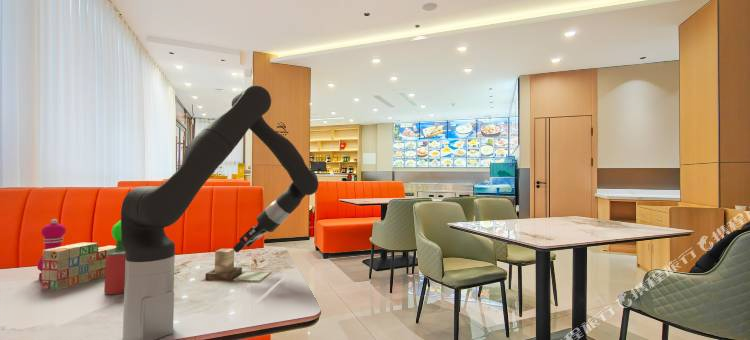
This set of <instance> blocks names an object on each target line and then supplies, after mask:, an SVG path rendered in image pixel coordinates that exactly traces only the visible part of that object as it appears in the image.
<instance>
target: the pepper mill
mask: <svg viewBox="0 0 750 340" xmlns="http://www.w3.org/2000/svg"><path fill="white" fill-rule="evenodd" d="M66 230H67V229H66V227H65V225H63V224H62V223H59V222H58V219H57V218H53V219H51V220H50V223H49V224H46V225H44V226H43V228H42V229H41V235H42V237H44V238H43V242H42V243H43V244H44V250H46V249H51V248H57V247H62V243H63V241H64V235H65V234H66V232H67V231H66ZM37 270H39V271H40V272H39V275H38V279H39V280H40V281H41V280H42V256H41V257H40V258H39V260H38V263H37Z"/></svg>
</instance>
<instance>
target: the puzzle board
mask: <svg viewBox="0 0 750 340" xmlns="http://www.w3.org/2000/svg"><path fill="white" fill-rule="evenodd" d="M272 274H273V271H247V270H245V271H243V267H242V266H234V270H233V271H232V272H230V273H215V268H213V269H212V270H209V271H208V272H207V271H206V273H205V277H204V278H203V279H201V280H200V282H211V283H213V282H215V283H217V282H218V283H219V282H220V283H246V284H247V283H251V284H261V283H262V281H264V280H265V279H267V278H268V277H269V276H271V275H272Z"/></svg>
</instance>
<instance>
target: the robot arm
mask: <svg viewBox="0 0 750 340" xmlns="http://www.w3.org/2000/svg"><path fill="white" fill-rule="evenodd" d="M271 105H272V97H271V95H270V93H269V91H268V90H267V89H266V88H265V87H263V86H261V85H250V86H247V87H246V88H244V89H243V90H241V91H240V92H239V93H238V94H236V95H235V96H234V97H233V98H232V99H231V107H230V108H229V109H228V110H227V111H225V112H224V113H223V114H221V115H220V116H218V117H217V118H215V119H214V120H212V121H211V122H210V123H208V125H206V126H205V127H204V128H203V129H201V130H200V131H199V133H197V135H195V137H193V139H192V140H191V141H190V142H189V143H188V145H187V146H186V149H185V151H184V156H183V160H182V163H181V165H180V167H179V168H178V169H177V170H176V171H175V172H174V173H173V174H172V175H171V176H170V177H169V178H168V179H167V180H166V181H164V182H163V183H162V184H160V185H158V186H155V185H154V186H153V185H148V186H147V185H146V186H143V185H142V186H138V187H136V188H135V187H134V188H133V189H131V190H130V191H128V193H127V194H126V195H125V197H124V199H123V200H122V204H121V208H120V210H121V211H120V220H121V241H122V246H123V248H124V250H125V254H126V258H125V259H126V260H125V285H124V293H123V319H122V320H123V321H122V322H123V323H122V340H158V339H161V338H164V337H166V336H168V335H171V334H174V312H175V311H174V306H175V292H174V290H175V288H174V287H175V286H174V285H175V262H176V261H175V260H176V257H175V256H176V246H175V245H176V244H175V242H174V241H173V240H172V239H171V238H169V237H168V235H167V233H166V232H165V228H167V227H170V226H172V225H174V224H175V223H176V222H178V220H179V219H180V218H181V217H182V216H183V215H184V213H185V212H186V210H187V209H188V208H189V206H190V205H191V204H192V201H194V198H196V195H197V194H198V193H199V191H200V190H201V188H202V187H203V186H204V184H205V183H206V182H207V181H208V180H209V178H210V177H211V176H212V175H213V174H214V172H216V170H217V169H218V168H219V167H220V166H221V165H222V164H223V163H224V161H225V160H226V159H227V158H228V157H229V155H231V153H232V152H233V151H234V149H235V148H236V146H238V144H239V143H240V142H241V140H242V139H243V138H244V137H245V135H246V134H247V132H248V131H249V129H250V130H251V132H252V133H253V134H254V135H255V136H257V138H258V139H259V140H261V141H262V143H263V144H264V145H265V146H266V147H267V148H268V149H269V150H270V152H271V153H272V154H273V156H275V158H276V159H277V161H278V162H279V164H281V166H282V168H284V170H286V172H287V173H288V175H289V178H290V179H291V180H292V183H290V185H289V186H288V187H287V188H286V189H285V190H284V191H283V192H282V193H281V194H280V195H279V196H278V197H277V198H276V199H275V200H273V201H272V202H270V204H269V205H267V206H266V208H265V209H263V210H262V211H261V213H259V214H258V215H257V217H256V221H257V224H255V225H253V226H252V227H250V229H248V230H247V231H246V232H245V233H244V234H243V235H242V236H241V237H239V239H238V242H237V243H236V244H235V245H234V246H233V248H232V249H234V253H240V251H242V250H243V248H244V247H245V246H247V247H248V248H249V247H250V246H253V244H254V243H255V242H256V241H257V240H260V239H261V238H262V237H263V236H265V234H266V233H267V232H268V233H273V232H275V230H276V229H277V228H279V226H281V224H283V223H284V222H285V221H286V220H287V219H288V217H289V216H290V215H291V214H292V213H293V212H294V211H295V210H296V209H297V208H298V207H299V206H300V204H301V203H302V200H303V199H304V198H305V197H306V196H312V195H313V194H316V192H317V191H318V189H319V178H318V176H317V174H316V173H315V172H314V171H311V170H310V168H309V167H308V166H307V164H306V163H305V160H304V158H303V156H302V155H301V153H300V152H299V151H298V150H297V148H296V146H295V145H294V144H293V143H292V142H291V140H289V139H288V138H287V137H286V136H284V135H282V134H281V133H279V132H278V131H277V130H275V129H274V128H272V127H271V126H270V125H269V124H268V123H267V122H266V121H265V119H264V117H263V116H264V115H265V114H266V113H267V112H268V111H269V110H270V108H271Z"/></svg>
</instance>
